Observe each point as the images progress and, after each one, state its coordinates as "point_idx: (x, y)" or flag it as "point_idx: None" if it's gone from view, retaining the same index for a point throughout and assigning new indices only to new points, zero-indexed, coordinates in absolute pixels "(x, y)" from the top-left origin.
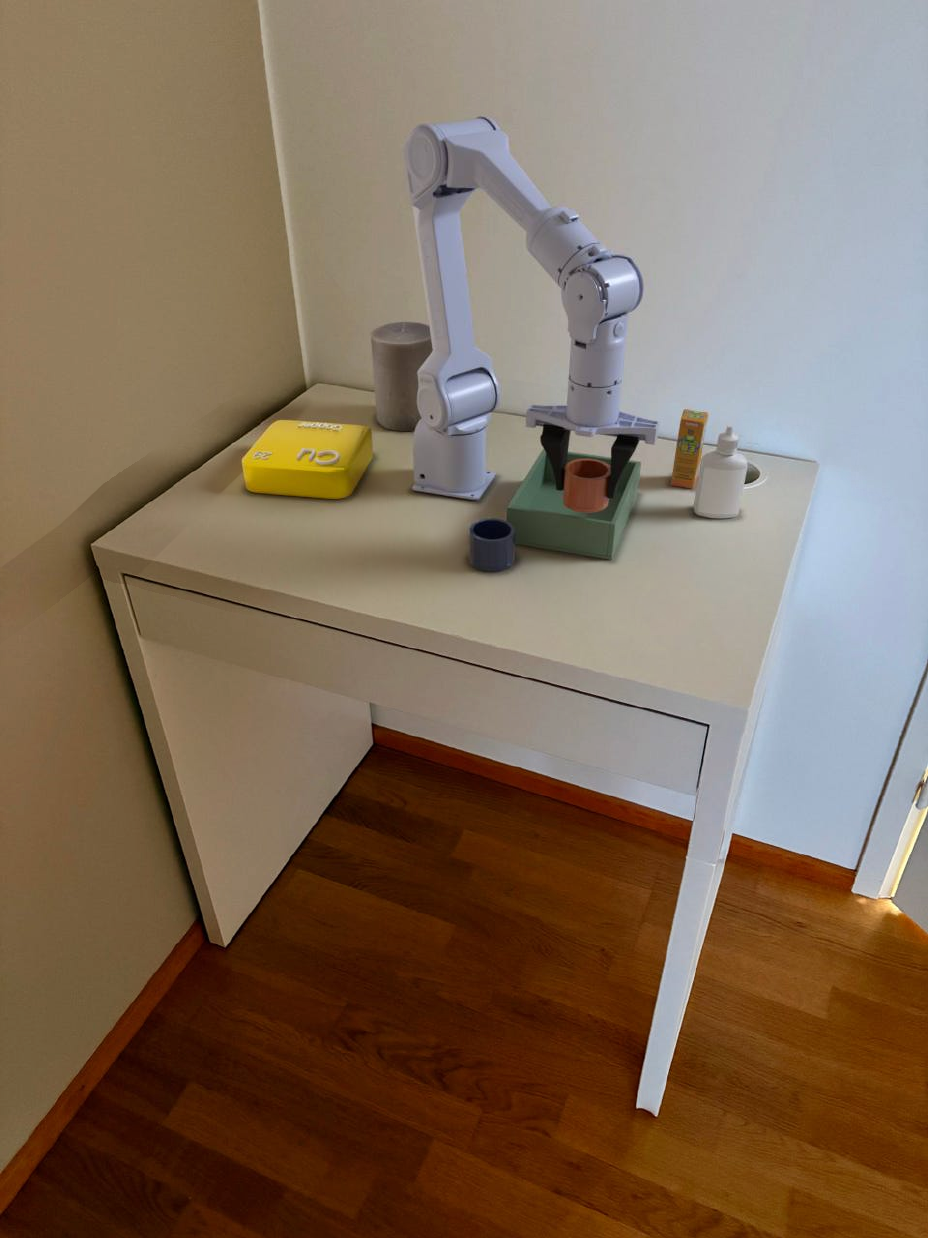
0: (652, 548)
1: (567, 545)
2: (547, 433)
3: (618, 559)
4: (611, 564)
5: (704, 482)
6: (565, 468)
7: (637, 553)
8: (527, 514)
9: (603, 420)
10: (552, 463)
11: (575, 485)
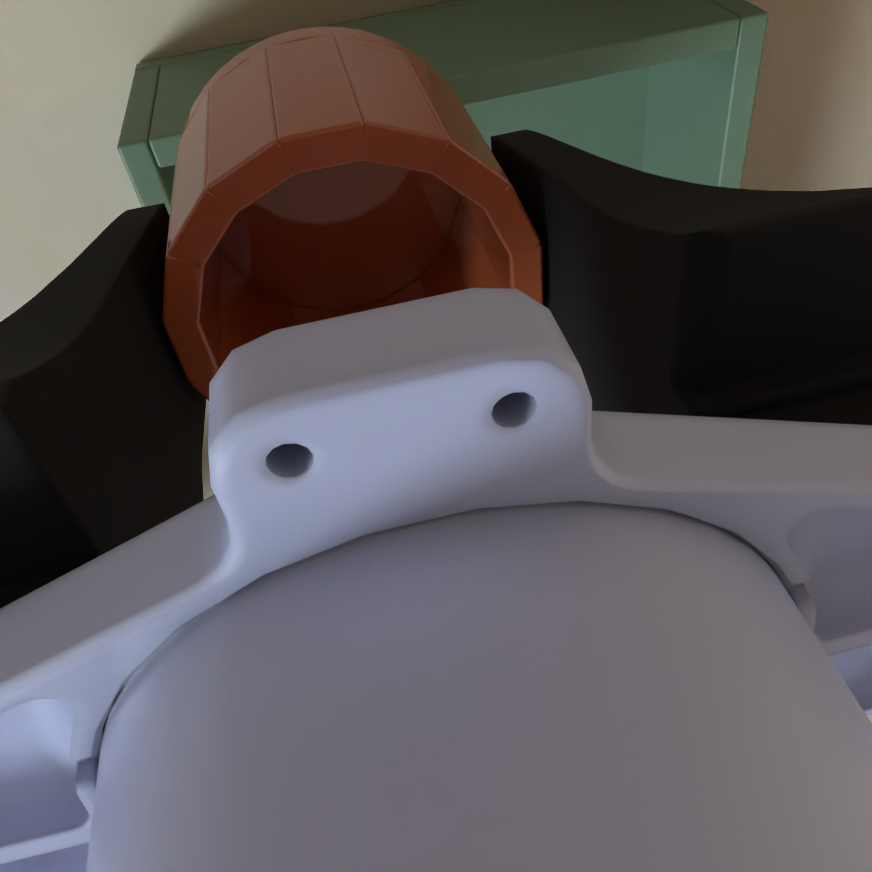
0: (45, 257)
1: (367, 30)
2: (858, 360)
3: (113, 91)
4: (114, 26)
5: None
6: (526, 233)
7: (72, 187)
8: (634, 29)
9: (165, 748)
10: (647, 180)
11: (375, 96)
